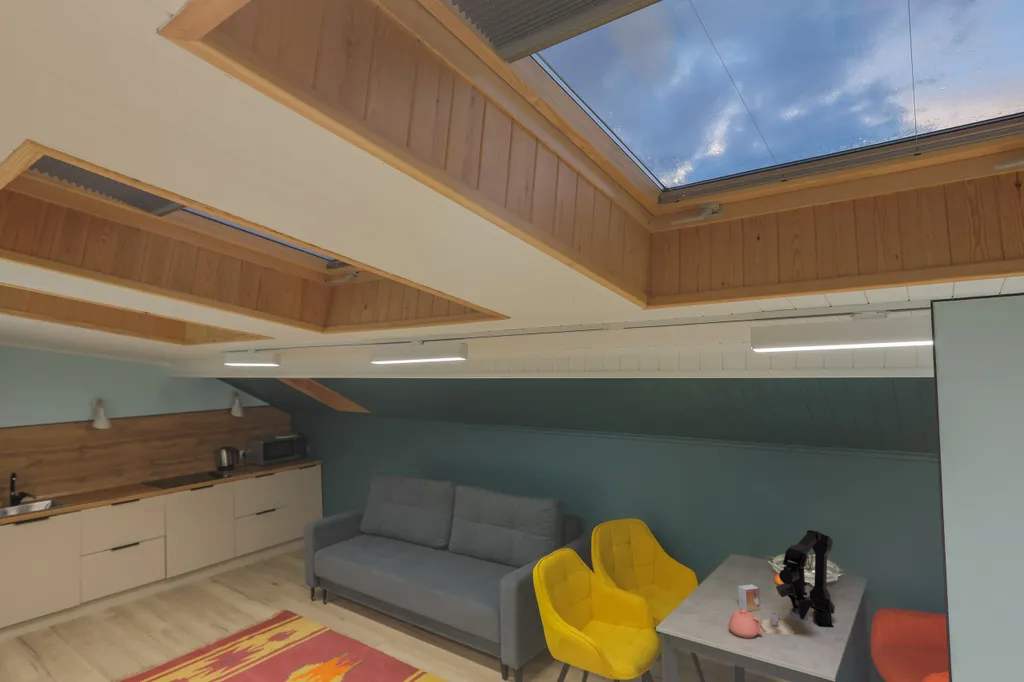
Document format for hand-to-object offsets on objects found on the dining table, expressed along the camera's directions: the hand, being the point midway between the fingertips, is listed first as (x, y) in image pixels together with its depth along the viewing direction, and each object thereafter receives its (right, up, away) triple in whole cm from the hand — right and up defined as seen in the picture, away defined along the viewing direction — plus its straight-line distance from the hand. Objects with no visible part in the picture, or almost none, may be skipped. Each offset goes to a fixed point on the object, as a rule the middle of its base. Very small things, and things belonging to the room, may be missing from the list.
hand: (798, 615), depth 238 cm
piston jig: (-6, -11, +10) cm, 16 cm away
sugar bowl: (-21, -11, +4) cm, 24 cm away
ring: (0, -1, 0) cm, 1 cm away
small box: (-8, -12, +31) cm, 34 cm away
